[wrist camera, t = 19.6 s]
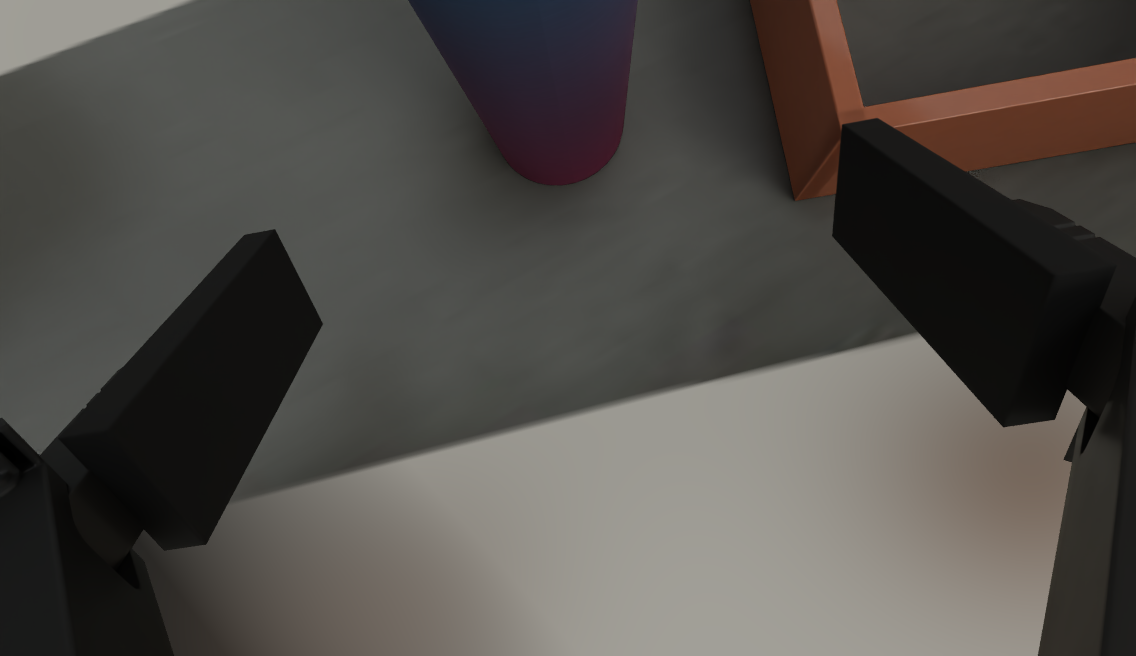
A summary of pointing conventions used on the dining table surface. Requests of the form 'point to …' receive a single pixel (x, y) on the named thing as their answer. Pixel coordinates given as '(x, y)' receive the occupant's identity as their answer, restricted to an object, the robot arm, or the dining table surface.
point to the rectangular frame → (928, 103)
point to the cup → (541, 76)
